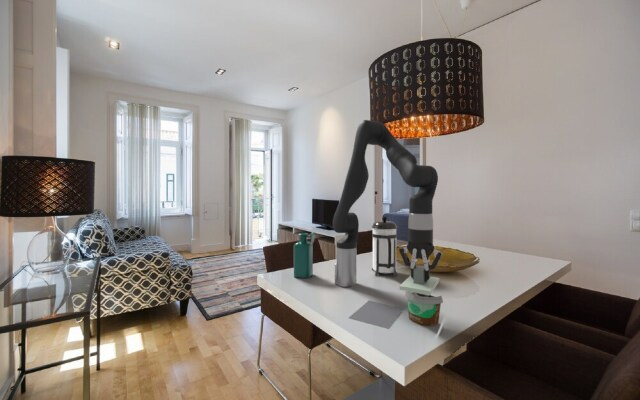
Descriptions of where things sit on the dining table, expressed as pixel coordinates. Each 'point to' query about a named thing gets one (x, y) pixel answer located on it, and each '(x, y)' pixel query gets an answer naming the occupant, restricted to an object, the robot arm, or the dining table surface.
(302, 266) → the green bottle
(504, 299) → the dining table surface
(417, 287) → the lid
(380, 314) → the mat
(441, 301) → the food container
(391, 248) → the coffee press
